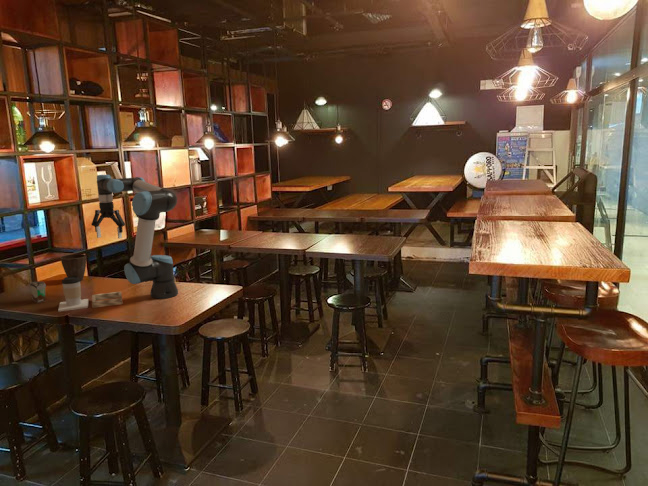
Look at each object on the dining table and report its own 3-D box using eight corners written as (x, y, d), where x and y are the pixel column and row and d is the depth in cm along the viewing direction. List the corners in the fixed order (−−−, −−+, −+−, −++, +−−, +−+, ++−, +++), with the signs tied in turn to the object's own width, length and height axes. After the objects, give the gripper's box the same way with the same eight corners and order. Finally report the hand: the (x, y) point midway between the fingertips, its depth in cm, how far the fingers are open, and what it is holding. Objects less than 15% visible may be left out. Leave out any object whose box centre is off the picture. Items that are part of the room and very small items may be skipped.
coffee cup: (75, 307, 262) (72, 279, 259) (60, 306, 263) (57, 279, 260) (86, 301, 270) (83, 275, 267) (72, 301, 272) (69, 274, 269)
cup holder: (121, 296, 283) (120, 291, 282) (122, 303, 269) (122, 298, 269) (92, 300, 277) (92, 294, 276) (92, 307, 263) (91, 302, 263)
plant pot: (60, 280, 318) (57, 256, 315) (84, 276, 328) (82, 252, 324) (67, 285, 307) (64, 260, 304) (92, 280, 317) (89, 256, 314)
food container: (51, 301, 275) (49, 284, 273) (39, 304, 271) (36, 286, 269) (43, 296, 284) (41, 280, 282) (31, 299, 279) (29, 282, 277)
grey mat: (88, 300, 276) (88, 298, 276) (88, 307, 263) (87, 306, 263) (60, 304, 270) (59, 302, 270) (58, 311, 258) (58, 309, 258)
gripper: (129, 201, 287) (132, 237, 291) (90, 200, 292) (94, 236, 296) (121, 202, 280) (125, 239, 284) (82, 202, 284) (86, 238, 288)
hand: (109, 237), depth 290 cm, fingers open, 13 cm apart
